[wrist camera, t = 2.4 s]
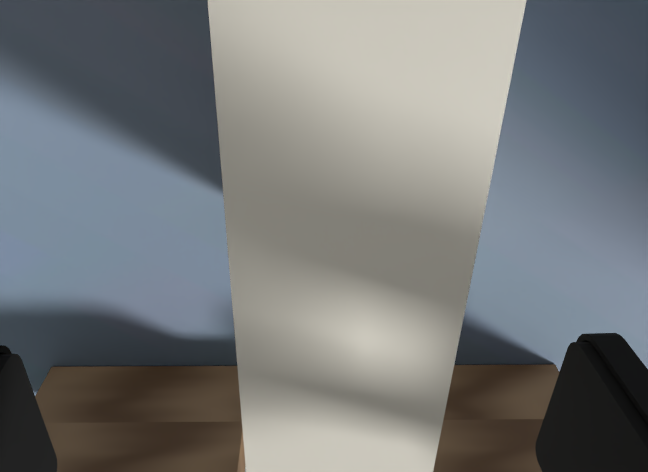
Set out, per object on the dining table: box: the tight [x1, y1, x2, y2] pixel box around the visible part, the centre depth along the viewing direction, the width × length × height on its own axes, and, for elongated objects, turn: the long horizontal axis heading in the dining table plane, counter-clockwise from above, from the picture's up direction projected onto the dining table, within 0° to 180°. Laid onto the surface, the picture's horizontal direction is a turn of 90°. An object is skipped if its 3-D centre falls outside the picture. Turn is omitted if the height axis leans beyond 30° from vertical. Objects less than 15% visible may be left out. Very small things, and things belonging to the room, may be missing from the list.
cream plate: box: [208, 0, 526, 472], centre depth 11 cm, size 3×14×12 cm, turn 179°
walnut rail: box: [35, 365, 559, 472], centre depth 22 cm, size 22×2×6 cm, turn 89°
